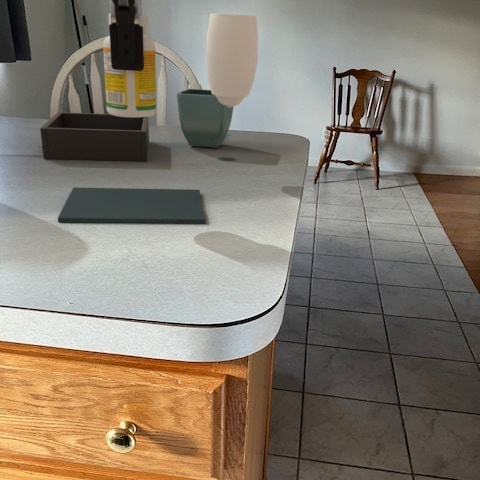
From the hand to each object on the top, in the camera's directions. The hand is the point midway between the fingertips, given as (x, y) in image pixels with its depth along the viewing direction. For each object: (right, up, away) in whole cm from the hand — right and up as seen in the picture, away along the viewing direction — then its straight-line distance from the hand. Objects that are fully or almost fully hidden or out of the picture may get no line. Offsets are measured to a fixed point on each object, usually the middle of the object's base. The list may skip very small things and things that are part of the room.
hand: (129, 65), depth 57 cm
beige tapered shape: (+10, -4, +26) cm, 28 cm away
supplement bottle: (0, -4, +2) cm, 5 cm away
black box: (-12, +2, +33) cm, 35 cm away
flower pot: (+6, +5, +41) cm, 42 cm away
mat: (-1, -13, +7) cm, 15 cm away
